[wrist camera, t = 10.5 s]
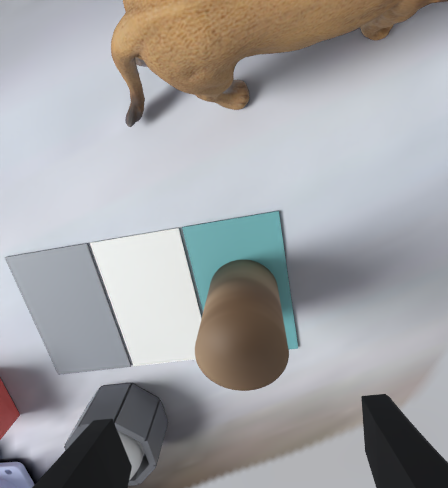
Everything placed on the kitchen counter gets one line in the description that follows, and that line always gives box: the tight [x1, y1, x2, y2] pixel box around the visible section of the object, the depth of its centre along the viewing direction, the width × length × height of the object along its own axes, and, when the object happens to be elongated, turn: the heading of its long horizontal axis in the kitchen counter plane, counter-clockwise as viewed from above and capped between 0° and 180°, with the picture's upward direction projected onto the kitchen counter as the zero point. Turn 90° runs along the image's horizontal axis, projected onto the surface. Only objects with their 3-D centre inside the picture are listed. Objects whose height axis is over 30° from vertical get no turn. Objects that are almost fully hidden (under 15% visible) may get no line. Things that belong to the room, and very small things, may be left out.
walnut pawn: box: [195, 260, 289, 391], centre depth 15 cm, size 4×4×5 cm
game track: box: [5, 211, 298, 375], centre depth 18 cm, size 15×8×1 cm, turn 101°
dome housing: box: [64, 383, 168, 486], centre depth 20 cm, size 5×5×3 cm
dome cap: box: [117, 430, 145, 480], centre depth 19 cm, size 4×4×4 cm
